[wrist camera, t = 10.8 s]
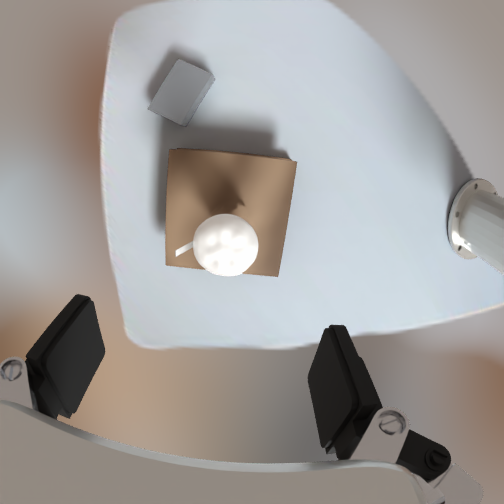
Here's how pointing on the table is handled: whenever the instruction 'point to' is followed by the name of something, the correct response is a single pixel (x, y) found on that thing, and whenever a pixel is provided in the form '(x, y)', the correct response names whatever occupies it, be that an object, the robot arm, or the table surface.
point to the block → (181, 92)
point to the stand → (228, 187)
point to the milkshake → (225, 240)
